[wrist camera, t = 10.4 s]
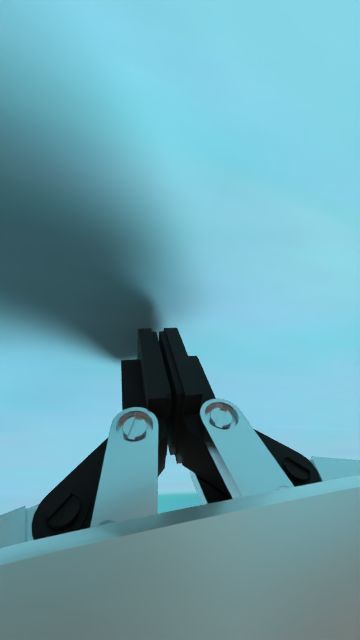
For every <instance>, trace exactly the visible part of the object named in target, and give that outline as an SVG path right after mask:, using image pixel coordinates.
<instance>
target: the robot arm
mask: <svg viewBox="0 0 360 640" xmlns="http://www.w3.org/2000/svg"><path fill="white" fill-rule="evenodd" d="M121 371H122V409H123V411H121V412H120V413H118V414H117V415H116V417H115V418H114V419H113V421H112V424H111V427H110V432H109V437H108V438H107V439H106V440H105V441H104V442H103V443H102V444H101V445H100V446H99V447H97V448H96V449H95V450H94V451H93V452H92V453H91V454H90V455H89V456H88V457H87V458H86V459H85V460H84V461H83V462H82V463H81V464H79V465H78V466H77V467H76V468H75V469H74V470H73V471H72V472H71V473H70V474H69V475H68V476H67V477H66V478H65V479H64V480H63V481H62V482H60V483H59V484H58V485H57V486H56V487H55V488H54V489H53V490H52V491H51V492H50V493H49V494H48V495H47V496H46V497H45V498H44V499H43V500H42V502H41V503H40V504H38V505H36V506H33V507H31V508H28V509H26V506H23V507H21V508H18V509H16V510H13V511H11V512H8V513H5V514H3V515H0V640H360V460H348V459H336V458H324V457H311V459H310V460H309V459H307V458H306V457H304V456H303V455H301V454H300V453H298V452H296V451H294V450H292V449H290V448H288V447H287V446H285V445H283V444H281V443H279V442H277V441H275V440H273V439H272V438H270V437H268V436H266V435H264V434H262V433H260V432H258V431H256V430H255V429H253V428H252V426H251V425H250V423H249V422H248V421H247V419H246V418H245V416H244V415H243V414H242V412H241V411H240V410H239V408H238V407H237V406H236V405H234V404H233V403H231V402H229V401H227V400H224V399H216V398H215V396H214V393H213V391H212V389H211V387H210V384H209V382H208V380H207V377H206V375H205V373H204V371H203V368H202V366H201V364H200V362H199V359H198V357H197V356H188V355H187V352H186V350H185V347H184V344H183V342H182V339H181V337H180V334H179V332H178V329H177V328H164V331H163V332H159V342H158V338H157V334H156V332H152V331H151V329H138V359H137V360H121ZM167 445H168V447H169V452H170V455H175V457H176V461H177V464H178V463H182V465H183V466H185V467H186V468H188V469H189V470H190V475H191V479H192V481H193V484H194V486H195V489H196V491H197V494H198V496H199V499H200V501H201V504H202V505H200V506H195V507H190V508H185V509H180V510H175V511H170V512H165V513H161V514H157V497H158V476H159V475H160V474H161V472H162V471H163V469H164V468H165V458H166V455H167Z"/></svg>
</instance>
